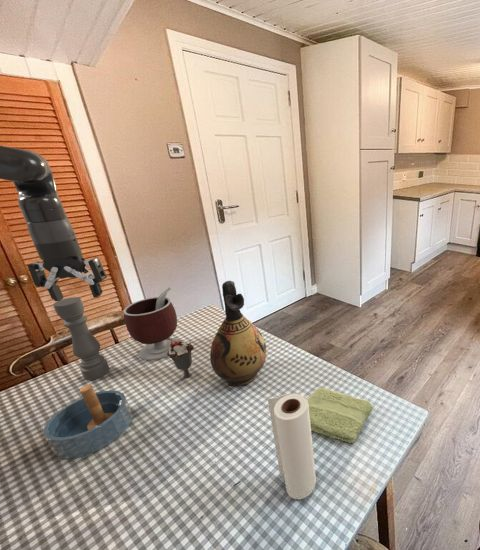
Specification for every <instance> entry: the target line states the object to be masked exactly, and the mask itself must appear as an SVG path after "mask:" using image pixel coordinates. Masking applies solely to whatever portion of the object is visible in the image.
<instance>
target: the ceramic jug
mask: <svg viewBox="0 0 480 550" xmlns="http://www.w3.org/2000/svg"><path fill="white" fill-rule="evenodd" d="M221 289H222V297H223V303H224V313H225V318H224V320H223V321H222V323H221V324H220V326H219V327H218V329H217V331H216V334H215V335H214V338H213V340H212V343H211V346H210V353H209V355H210V356H209V360H210V366H211V368H212V370H213V371H214V373H215V374H216V375H217V376H218V377H219V378H221V379H222V380H224V381H225V383H226V385H227V386H228V387H237V388H238V387H244V386H247V385H248V384H250V383H252V382H253V381H254V380H255V379H256V378H257V376H258V373H259V372H260V371H261V369H262V368H263V367H264V365H265V363H266V359H267V349H268V348H267V344H266V341H265V339H264V336H263V334H262V333H261V331H260V330H259V328H257V327H256V326H255V324H253V323H252V322H251V320H249V319H248V318H247V317H246V316H244V315H243V313H242V312H241V310H242V309H243V308H244V306H245V297H244V296H243V294H242V293H237V287H236V285H235V281H232V280H226V281H224V282H223V283H222V285H221Z"/></svg>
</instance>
